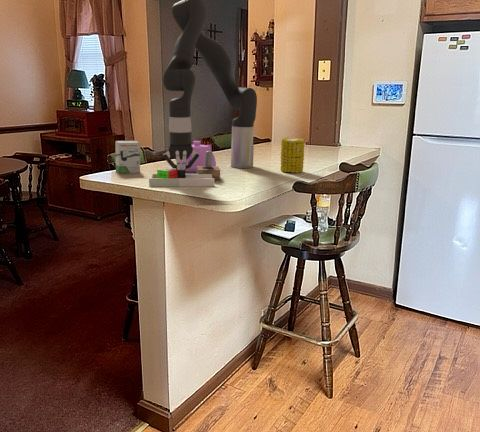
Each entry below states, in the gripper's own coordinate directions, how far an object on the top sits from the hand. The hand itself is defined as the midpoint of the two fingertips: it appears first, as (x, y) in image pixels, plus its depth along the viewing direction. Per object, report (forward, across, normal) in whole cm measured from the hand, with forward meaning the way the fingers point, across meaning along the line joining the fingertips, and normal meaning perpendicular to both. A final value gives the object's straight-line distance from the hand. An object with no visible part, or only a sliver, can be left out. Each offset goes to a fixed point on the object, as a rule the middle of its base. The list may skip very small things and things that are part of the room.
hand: (181, 179), depth 166 cm
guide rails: (+1, -5, +1) cm, 5 cm away
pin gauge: (+2, -10, -8) cm, 13 cm away
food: (+3, -46, -24) cm, 52 cm away
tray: (+1, +6, +1) cm, 6 cm away
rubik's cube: (+1, +5, +2) cm, 5 cm away
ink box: (+2, +20, -22) cm, 30 cm away
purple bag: (+2, -7, -27) cm, 28 cm away
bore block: (+1, -10, -8) cm, 13 cm away
